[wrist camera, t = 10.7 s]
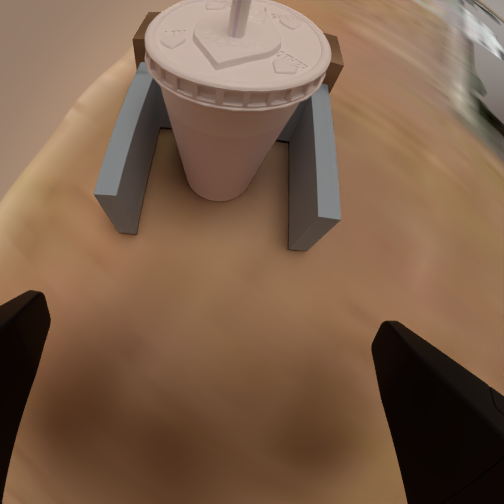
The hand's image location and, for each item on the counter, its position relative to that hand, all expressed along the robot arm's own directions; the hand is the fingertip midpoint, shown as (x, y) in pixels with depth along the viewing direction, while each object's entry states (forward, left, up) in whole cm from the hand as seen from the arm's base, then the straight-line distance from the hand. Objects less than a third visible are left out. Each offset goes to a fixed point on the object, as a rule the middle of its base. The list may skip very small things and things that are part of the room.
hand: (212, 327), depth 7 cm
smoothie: (+8, +3, -8) cm, 12 cm away
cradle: (+8, +3, -8) cm, 11 cm away
